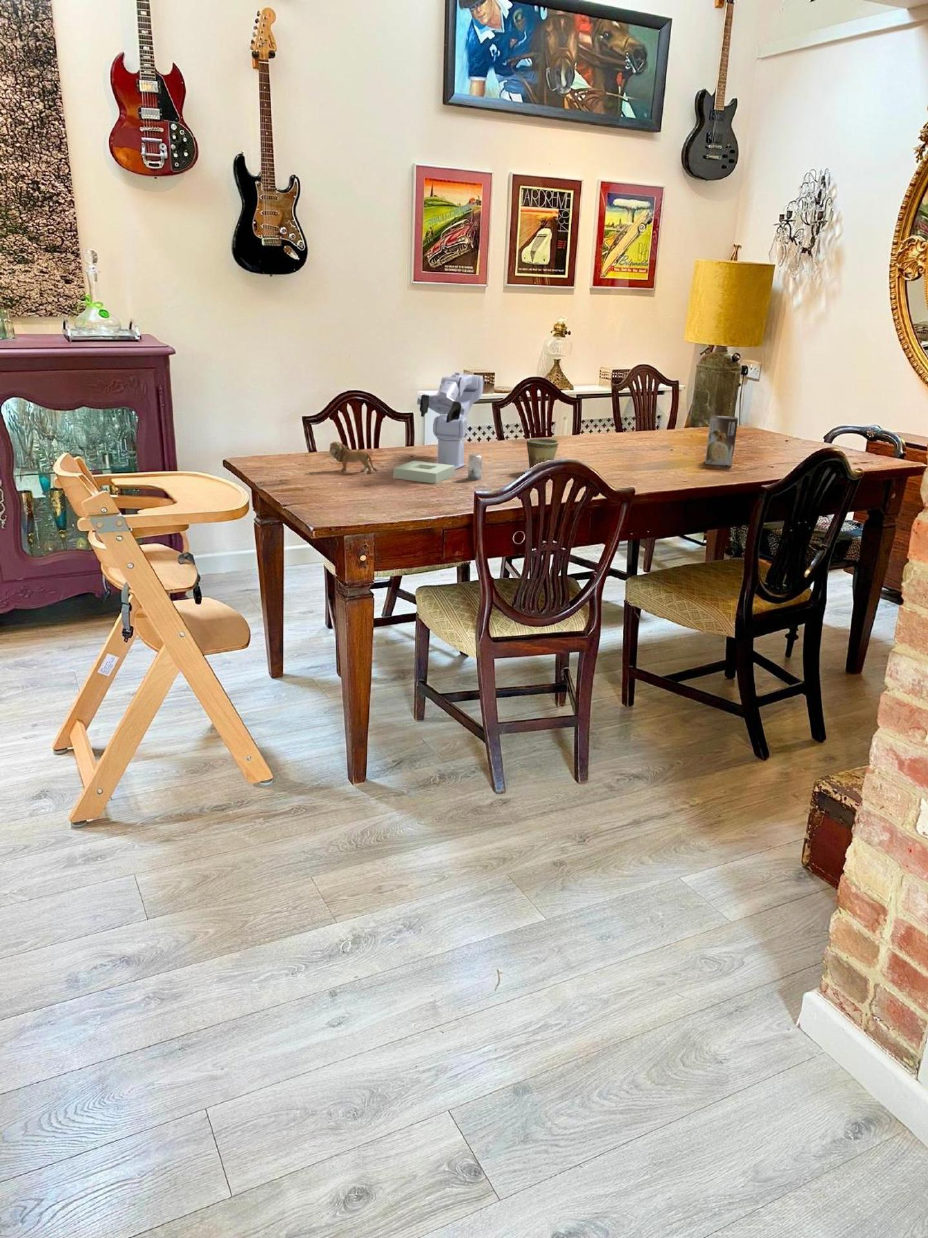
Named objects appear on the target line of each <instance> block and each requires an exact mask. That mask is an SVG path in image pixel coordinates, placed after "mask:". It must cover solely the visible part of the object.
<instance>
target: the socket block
mask: <svg viewBox="0 0 928 1238" xmlns="http://www.w3.org/2000/svg"><path fill="white" fill-rule="evenodd" d="M455 473H456V469H455V465H447V464H439V463H437V462H429V461H422V460H421V461H420V460H412V461H408V462H405V463H404V464H401V465H399V466H398V465H397V466H395V467H393V474H392V475H393V479H399V480H406V481H412V482H413V481H414V482H423V483H429V484H438V483H441V482H443V481H445V480H447V479H450V478H452V477H454V476H456V474H455Z"/></svg>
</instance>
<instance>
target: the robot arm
mask: <svg viewBox="0 0 928 1238" xmlns="http://www.w3.org/2000/svg"><path fill="white" fill-rule="evenodd" d="M484 384H485V383H484V378H483V376H482V375H479V374H478V375H477V374H465V373H461V372H454V374H452V375H451V376H442V377H441V381H440V384H439V389H438V391H437V393H436V394H432V395H431V394H430V395H428V394H422V395H418V397H417V401H416V404H417V405H419V411H420V417H421V418H424V416H425V415H426V414H427V413H428V411H429V410H431V411H434V412H435V413H437V414H439V415H438V416H435V417H434V420H433V423H432V432H433V435H434V437H436V440H437V459H436V463H439V464H447V465H455V470H458V469H459V468H462V467H464V466H466V465H467V463H466V462H464V459H465V458H464V457H465V454H464V453H465V443H464V442H463V440H462V439H464V438H465V436H466V435H467V434H466V433H467V429H468V419H467V415H468V414H469V412H470V411H471V408H472V407H473V404H474V403H476V402H478V401H479V400H480V398H481V397H482V395H483V390H484Z"/></svg>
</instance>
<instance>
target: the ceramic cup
mask: <svg viewBox="0 0 928 1238" xmlns="http://www.w3.org/2000/svg"><path fill="white" fill-rule="evenodd" d="M558 448H559V441H558V440H556V439H552V438H543V437H541V438H538V437H534V438H532V437H531V438H528V439H526V449H527V455H528V456H527V457H528V464H529V465H528V466H529V469H530V468H531V467H533V466H534V465H536V464H538V463H541V462H545V461H547V460H553V461H554V460H555V456H556V454H557V450H558Z"/></svg>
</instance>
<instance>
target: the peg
mask: <svg viewBox="0 0 928 1238" xmlns="http://www.w3.org/2000/svg"><path fill="white" fill-rule="evenodd" d="M482 467H483V455H482V454H475V453H473V454H469V455H468V467H467V468H468V469H467V479H468V480H471V481H481V480H482Z"/></svg>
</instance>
